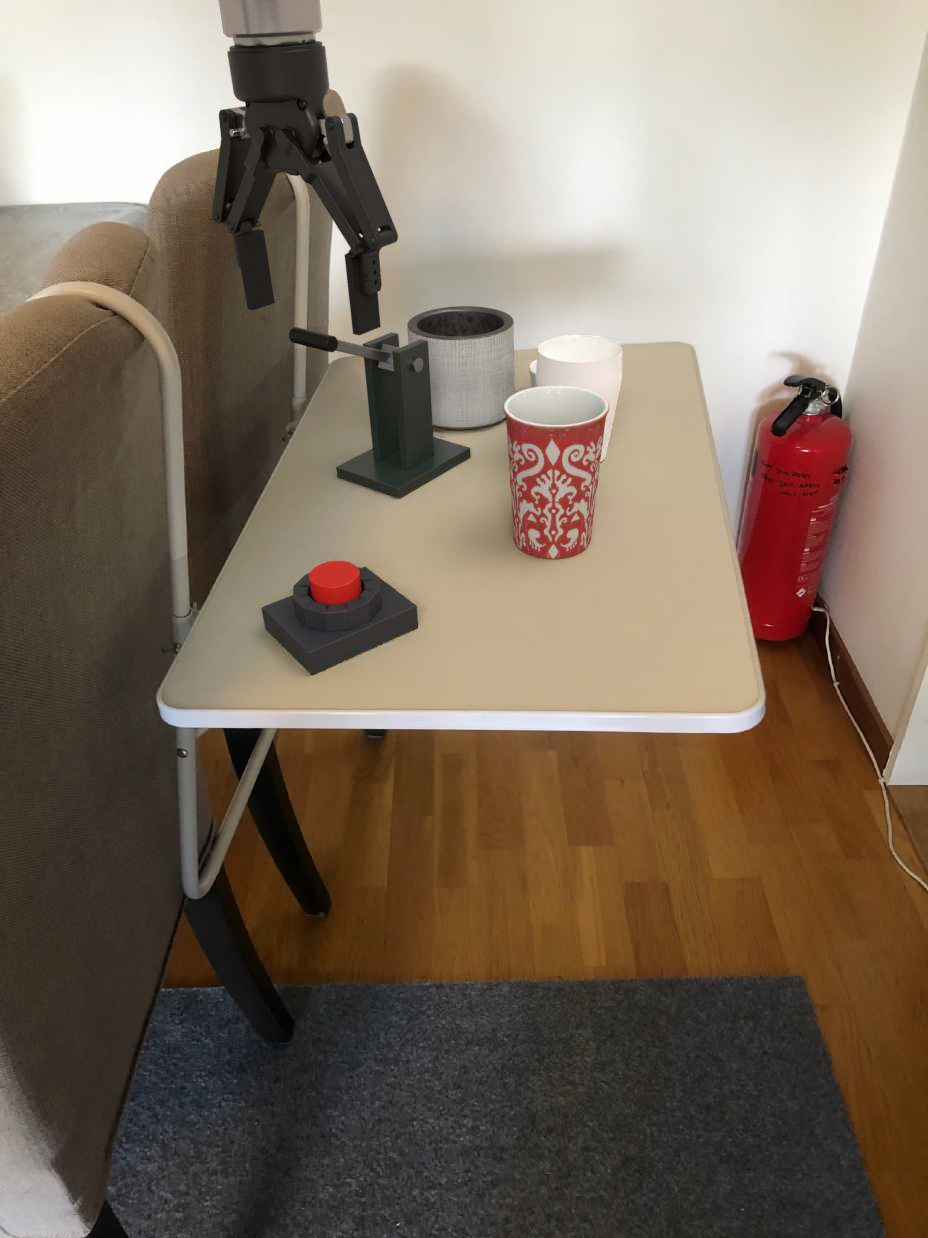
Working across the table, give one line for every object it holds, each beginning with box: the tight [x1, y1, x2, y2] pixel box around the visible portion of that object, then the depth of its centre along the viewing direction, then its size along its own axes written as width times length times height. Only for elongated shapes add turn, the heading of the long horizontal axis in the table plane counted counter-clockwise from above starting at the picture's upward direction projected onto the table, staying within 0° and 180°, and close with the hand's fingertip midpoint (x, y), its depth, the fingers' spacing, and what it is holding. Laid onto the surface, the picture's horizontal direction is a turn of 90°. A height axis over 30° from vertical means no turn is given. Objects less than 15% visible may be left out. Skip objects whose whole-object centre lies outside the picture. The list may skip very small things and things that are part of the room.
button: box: [309, 560, 362, 605], centre depth 73 cm, size 4×4×2 cm
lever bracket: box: [335, 331, 472, 499], centre depth 96 cm, size 12×9×14 cm
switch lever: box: [288, 326, 400, 372], centre depth 89 cm, size 14×5×2 cm, turn 142°
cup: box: [536, 334, 623, 463], centre depth 98 cm, size 9×9×12 cm
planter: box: [406, 305, 516, 431], centre depth 109 cm, size 13×13×11 cm
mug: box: [503, 386, 610, 560], centre depth 84 cm, size 13×9×14 cm
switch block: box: [261, 566, 419, 676], centre depth 75 cm, size 10×8×4 cm
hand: (311, 318), depth 83 cm, fingers open, 13 cm apart
